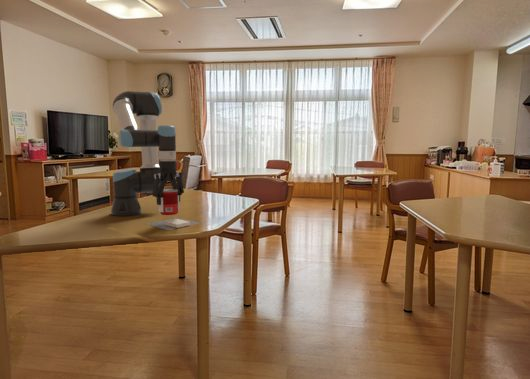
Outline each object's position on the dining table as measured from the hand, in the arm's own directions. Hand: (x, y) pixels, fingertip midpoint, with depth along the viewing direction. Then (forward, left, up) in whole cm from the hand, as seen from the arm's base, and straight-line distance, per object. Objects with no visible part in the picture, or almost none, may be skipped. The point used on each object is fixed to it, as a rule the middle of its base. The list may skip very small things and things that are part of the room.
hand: (169, 210), depth 168 cm
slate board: (+2, +1, -7) cm, 7 cm away
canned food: (0, 0, -2) cm, 2 cm away
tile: (+1, 0, -5) cm, 5 cm away
